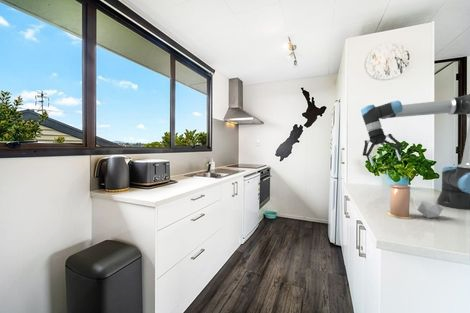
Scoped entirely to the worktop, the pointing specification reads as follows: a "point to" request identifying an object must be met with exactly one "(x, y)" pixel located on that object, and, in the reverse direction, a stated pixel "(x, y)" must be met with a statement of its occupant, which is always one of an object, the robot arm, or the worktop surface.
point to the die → (430, 209)
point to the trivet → (399, 216)
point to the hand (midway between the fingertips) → (386, 163)
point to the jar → (400, 200)
